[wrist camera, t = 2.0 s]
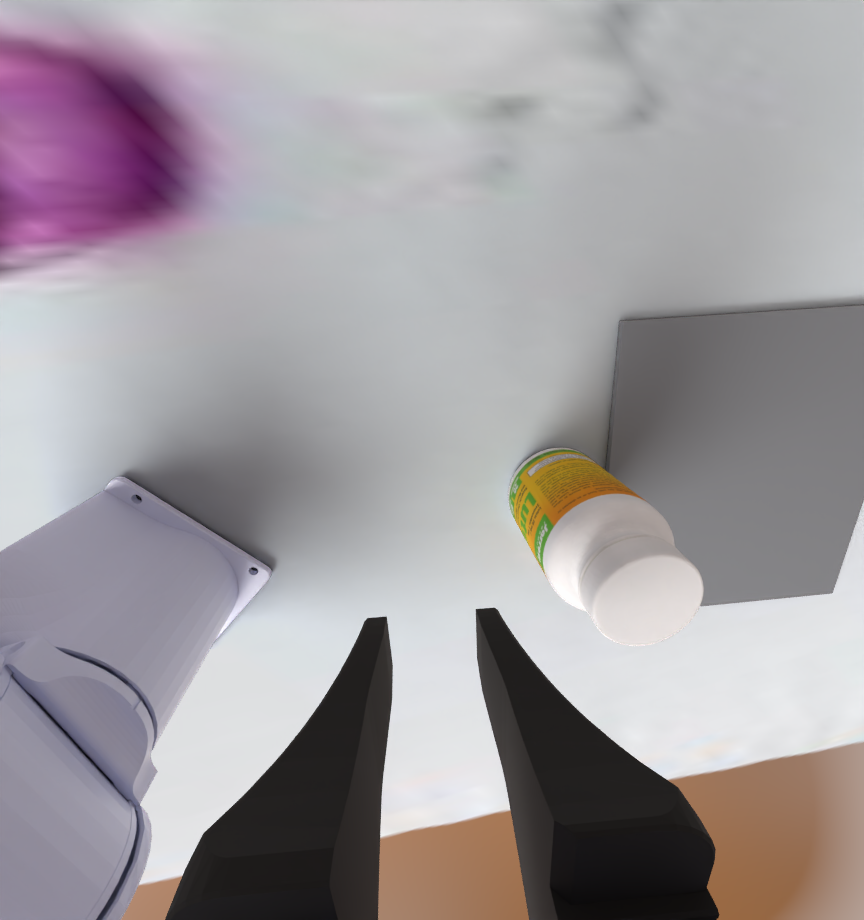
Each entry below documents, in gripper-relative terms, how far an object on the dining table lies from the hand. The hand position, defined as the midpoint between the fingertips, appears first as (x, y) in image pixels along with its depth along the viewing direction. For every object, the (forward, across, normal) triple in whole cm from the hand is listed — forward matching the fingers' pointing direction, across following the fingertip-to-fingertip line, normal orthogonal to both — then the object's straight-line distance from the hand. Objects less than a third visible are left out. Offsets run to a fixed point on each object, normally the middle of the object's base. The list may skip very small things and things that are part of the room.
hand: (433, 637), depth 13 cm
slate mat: (+11, -18, 0) cm, 21 cm away
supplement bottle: (+11, -7, 0) cm, 13 cm away
